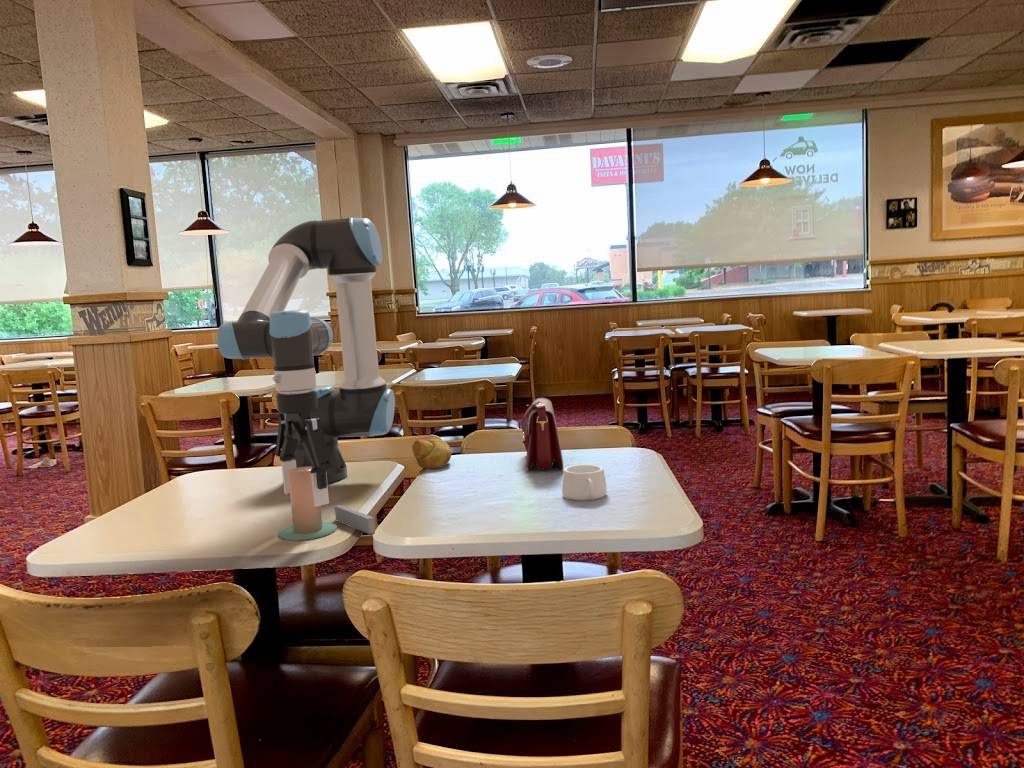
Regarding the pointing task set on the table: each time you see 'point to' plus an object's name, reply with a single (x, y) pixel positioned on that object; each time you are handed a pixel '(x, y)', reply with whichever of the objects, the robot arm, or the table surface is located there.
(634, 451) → the table surface
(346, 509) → the rail
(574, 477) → the mug
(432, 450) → the bread roll
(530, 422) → the handbag
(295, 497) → the peach rounded cylinder
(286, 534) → the pad
